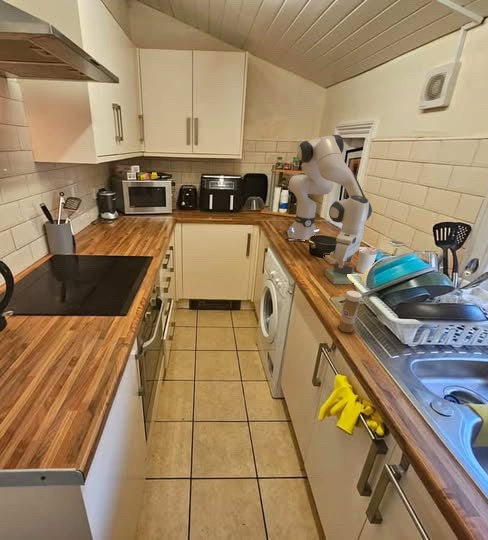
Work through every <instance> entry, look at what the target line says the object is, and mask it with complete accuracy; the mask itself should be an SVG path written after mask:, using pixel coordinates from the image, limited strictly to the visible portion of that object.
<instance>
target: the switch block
mask: <svg viewBox="0 0 488 540" xmlns="http://www.w3.org/2000/svg"><path fill="white" fill-rule="evenodd" d="M333 253H334V251H331V252H330V253H329V254H330V255H325V257H324V256H322V258H323V259H324V260H325V261H326V262H327V263H328V264H329V265H335V263H336V262H338V263H339V261H338V260H336V259H335V254H333ZM344 264H346V265H350V263H349V262H347V259H345V261H344Z"/></svg>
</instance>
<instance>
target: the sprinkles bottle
mask: <svg viewBox="0 0 488 540" xmlns="http://www.w3.org/2000/svg"><path fill="white" fill-rule="evenodd" d="M362 295H363V294H362V293H360V292H359V291H356V290H347V291H346V293H345V296H344V297H345V299H344V303H343V307H342V310H341V315H340V321H339V324H338V329H339V330H340V331H341V332H343V333H352V332H353V331H354V326H355V322H356V319H357V315H358V311H359V306H360V302H361V301H362V298H363V296H362Z"/></svg>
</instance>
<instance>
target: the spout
mask: <svg viewBox="0 0 488 540" xmlns="http://www.w3.org/2000/svg"><path fill="white" fill-rule="evenodd" d="M338 266H339V263H338V262H336V263H335V264H334V267H333V269H334V271H335V272H338V273H341V274H345V275H347V274H353V272H355V266H354V265H350V264H344V267H343V268H339V267H338Z"/></svg>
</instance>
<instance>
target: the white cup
mask: <svg viewBox="0 0 488 540" xmlns="http://www.w3.org/2000/svg"><path fill="white" fill-rule="evenodd" d="M377 255H378V253H377V252H376V251H375V250H372V249H367V248H361V249H359V250H358V253H357V259H356V266H355V271H356V273H360V274H364V272H365V271H366V270H367V269H368V268H369V267H370V266H371V265H372V264H373V263H374V264H375V263H376V262H375V261H376V258H377Z"/></svg>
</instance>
